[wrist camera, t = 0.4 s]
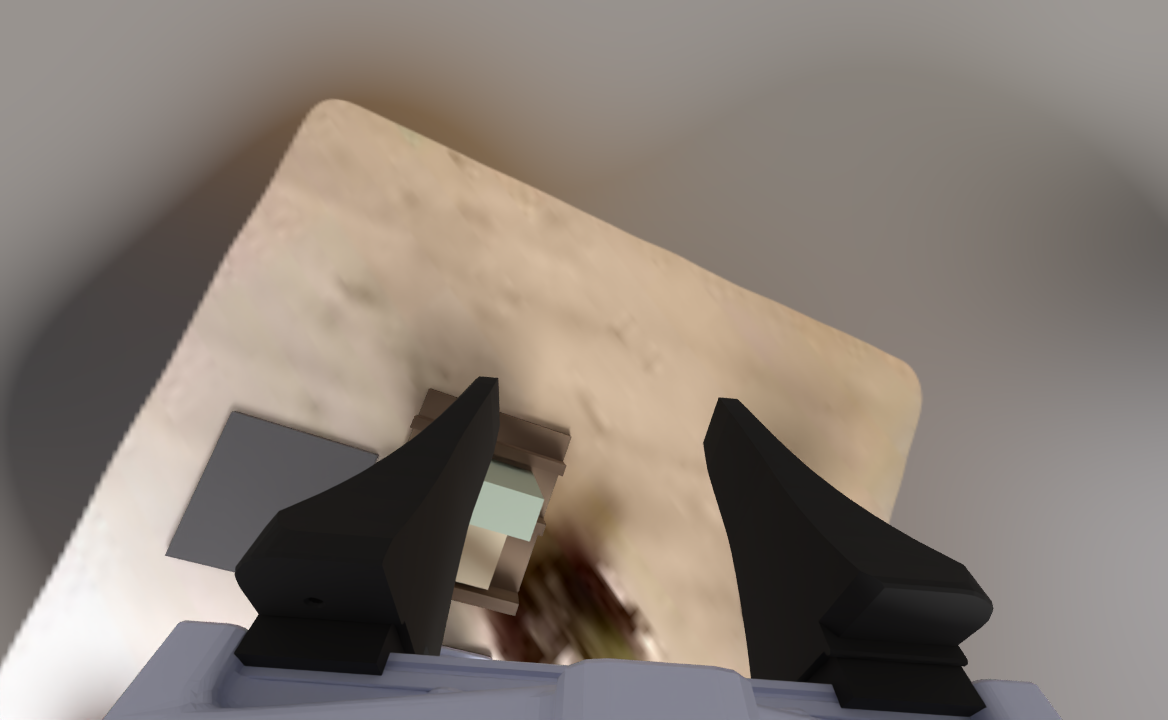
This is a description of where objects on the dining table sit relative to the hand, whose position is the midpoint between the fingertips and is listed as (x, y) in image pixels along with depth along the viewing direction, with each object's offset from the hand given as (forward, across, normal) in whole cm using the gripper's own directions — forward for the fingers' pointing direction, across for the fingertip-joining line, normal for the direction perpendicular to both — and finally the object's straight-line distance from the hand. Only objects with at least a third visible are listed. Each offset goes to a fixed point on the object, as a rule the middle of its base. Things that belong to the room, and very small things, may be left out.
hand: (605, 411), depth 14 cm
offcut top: (+11, +10, +26) cm, 29 cm away
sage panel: (+15, +9, +22) cm, 28 cm away
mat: (+11, +25, +23) cm, 36 cm away
